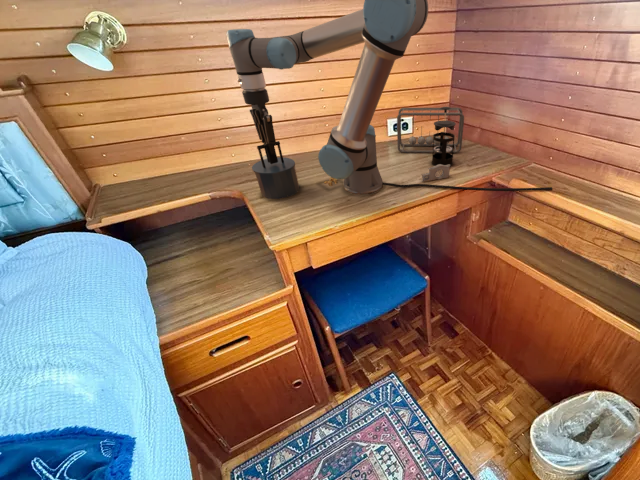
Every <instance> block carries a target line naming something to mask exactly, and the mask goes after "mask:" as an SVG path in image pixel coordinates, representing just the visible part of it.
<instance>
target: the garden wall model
mask: <svg viewBox="0 0 640 480" xmlns="http://www.w3.org/2000/svg"><path fill="white" fill-rule="evenodd" d="M450 168H451V166H450V164H448V165H441V164H439V165H436V166H434V165H433V166H432V167H427V169H428V172H426V173H421V181H422V182H423V183H424V182H430V181H434V180H435V181H436V180H442V179H446V178H450Z"/></svg>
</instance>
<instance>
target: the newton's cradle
mask: <svg viewBox="0 0 640 480" xmlns="http://www.w3.org/2000/svg"><path fill="white" fill-rule="evenodd" d="M440 108H441V107H401V108H400V109H399V110H398V114H397V117H396V135H397V142H396V143H397V150H398V152H399V153H401V154H416V153H417V154H435V153H437V152H435V151H434V150H433V149H431V150H430V149H429V150H428V149H427V150H424V149H423V150H420V149H419V150H418V149H415V150H414V149H411V150H410V149H404V148H405V147H433V136H431V132H429V135H428V136H427V137H426V138H425V137H424V136H423V127H421V129H420V130H421V133H420V136H418V138H416V136H414V135H412V136H410V137H409V138H408V143H403V142H402V116H403V117H404V116H408V117H409V116H412V124H414V123H415V117H416V116H417V117H418V116H419V117H420V116H421V117H423V116H424V117H425V116H426V117H427V116H429V119H432V118H431V116H434V117H437V121H440V116H444V117H445V113H444V112H431V111H443V110H442V109H440ZM450 108H451V109H449V110H447V113H446V118H445V121H448V116H449V117H451V116H458V117H459V120H458V121H459V122H458V133H457V141H456V143H454V150H453V154H459V153H460V152H461V151H462V146H463V145H462V144H463V136H464V123H465V115H464V114H463V109H461V108H460V107H450ZM405 111H408V112H405ZM410 111H412V112H410ZM415 111H416V112H415ZM417 111H429V112H417ZM448 111H457V112H448ZM447 128H448V127H445V131H447ZM436 138H440V136H437V137H436ZM449 138H450V137H449V136H445V139H449ZM401 146H402V149H401ZM436 146H440V142H438V141H435V140H434V147H436ZM447 146H449V147H453V143H450V142H447ZM456 147H458V149H457V148H456ZM450 154H452V152H450Z"/></svg>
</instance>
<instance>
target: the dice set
mask: <svg viewBox="0 0 640 480" xmlns="http://www.w3.org/2000/svg"><path fill="white" fill-rule="evenodd" d="M338 183H339V182H338V179H334V178H332V177H330V178H329V181H326V180H325V181H324V184H327V185H328V186H329V187H332V186H333V184H338Z"/></svg>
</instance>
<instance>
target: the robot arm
mask: <svg viewBox="0 0 640 480" xmlns="http://www.w3.org/2000/svg"><path fill="white" fill-rule="evenodd" d="M428 16H429V2H428V0H364V2H363V6H362V9H359V10H356V11H354V12H351V13H348V14H346V15H343V16H340V17H338V18H335V19H332V20H330V21H329V20H328V21H327V22H324V23H321V24H319V25H315V26H313V27H311V28H307V29H305V30H302V31H299V32H296V33H293V34H289V35H281V36H280V35H279V36H272V37H255V34H254V31H253V30H252V29H250V28H235V29H234V28H233V29H228V30H227V31H226V40H227V44H228V49H229V51H230V54H231V58H232V60H233V65H234V69H235V71H236V75H237V79H236V81H237V83H239V85H240V86H239V87H240V89H242V92H241V93H242V97H243V101H244V104H247V105H248V106H251V109H249V113H250V115H251V118H252V120H253V124H254V127H255V131H256V132H257V133H256V134H257V135H258V136H257V137H258V139H259V140H260V141H261V143H262V145H265V146H266V148H264V149H263V150H264V151H265V152H264V153H265V155H266V156H267V160H268V162H270V164H273V163H277V162H278V159H277V157H278V156H277V151H276V147H275V146H274V144H276V142H277V140H276V135H275V134H276V133H275V130H274V124H273V116H272V114H269V110H268V109H267V106H266V104H267V103H269V102H270V97H269V93H268V89H267V88H266V87H267V84H266V80H265V75H264V72H263V69H274V70H275V69H277V70H288V69H289V70H290V69H292V68H293V67H294V65H296V64H301V63H306V62H310V61H311V60H314V59H316V58H320V57H324V56H326V55H329V54H332V53H335V52H338V51H341V50H345V49H349V48H352V47H354V46H356V45H358V46H359V45H361V44H364V45H363V48H362V52H361V55H360V58H359V60H358V63H357V67H356V70H355V73H354V76H353V79H352V83H351V85H350V87H349V88H350V89H349V91H348V94H347V98H346V101H345V104H344V106H343V110H342V113H341V116H340V120H339V122H338V125H335V126H333V127H332V128H331V131H330V133H329V135H328V139H327V143H326V144H325V145H323V146H322V147H321V148H320V150H319V151H318V156H317V157H318V162H319V165H320V166H321V169H322V170H323V171H324V173H325V174H326V175H328V176H329V177H330V178H331V177H332V178H334V179H337V180H340V181H341V180H343V182H342V183H343V185H342V186H343V189H344V191H346V192H347V193H350V194H353V195H354V194H355V195H373V194H376V193H378V192H380V191H382V189H383V187H384V186H388V187H394V188H414V187H419V188H421V187H423V188H436V189H437V188H438V189H447V190H448V189H450V190H463V191H465V190H466V191H482V192H483V191H484V192H526V191H527V192H531V191H552V190H553V186H549V187H546V186H545V187H514V188H513V187H511V188H509V187H505V188H504V187H502V188H501V187H474V186H473V187H471V186H458V185H457V186H455V185H443V184H441V185H440V184H429V183H410V184H409V183H408V184H398V183H392V182H384V181H383V178H382V175H381V173H380V170H379V168H378V159H377V141H376V136H377V135H376V130H375V127H374V126H373V125H371V123H372V119H373V117H374V115H375V112H376V110H377V107H378V104H379V102H380V100H381V97H382V94H383V92H384V91H385V87H386V85H387V82H388V80H389V77H390V74H391V72H392V70H393V66H394V64H395V62H396V60H398V59H401V58H404V55H405V53H406V50H407V47H408V45H409V43H410V41H411V38H412V37H413V36H416V35H417V34H418V33H420V32H421V30H422V29H423V28H424V26H425V25H426V23H427V19H428Z"/></svg>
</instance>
